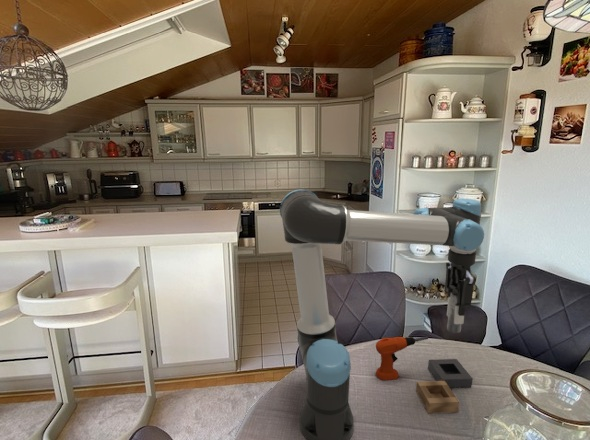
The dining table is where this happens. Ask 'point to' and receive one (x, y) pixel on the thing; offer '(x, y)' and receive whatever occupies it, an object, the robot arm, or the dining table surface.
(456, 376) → the block
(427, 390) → the wooden square frame
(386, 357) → the toy drill
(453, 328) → the dark grey tall piece
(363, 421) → the dining table surface
